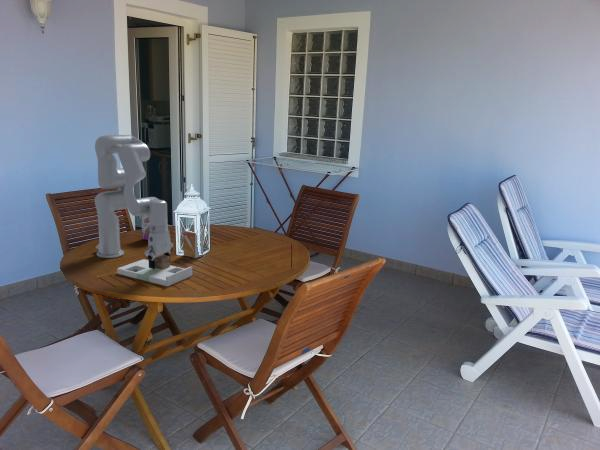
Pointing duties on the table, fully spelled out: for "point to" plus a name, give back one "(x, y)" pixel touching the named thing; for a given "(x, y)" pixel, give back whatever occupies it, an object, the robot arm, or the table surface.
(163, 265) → the walnut block
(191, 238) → the small box
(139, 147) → the robot arm
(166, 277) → the deck
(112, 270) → the table surface
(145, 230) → the candy bar box
